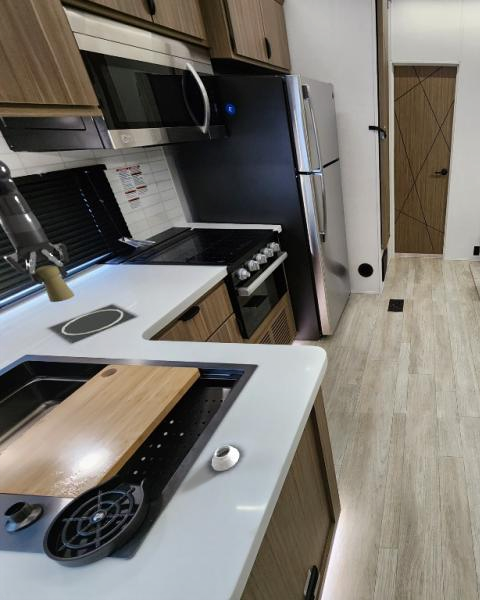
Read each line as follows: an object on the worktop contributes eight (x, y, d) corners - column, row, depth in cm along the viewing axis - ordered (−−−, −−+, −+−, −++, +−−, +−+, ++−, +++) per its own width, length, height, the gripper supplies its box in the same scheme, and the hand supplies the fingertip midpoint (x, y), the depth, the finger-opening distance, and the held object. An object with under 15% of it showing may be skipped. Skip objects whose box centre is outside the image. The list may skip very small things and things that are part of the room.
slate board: (73, 343, 105) (72, 341, 105) (51, 328, 113) (49, 326, 113) (135, 317, 119) (135, 316, 118) (112, 306, 127) (111, 304, 126)
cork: (77, 296, 110) (60, 265, 104) (53, 303, 105) (34, 272, 100) (71, 291, 113) (54, 261, 107) (47, 298, 108) (29, 267, 103)
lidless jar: (217, 477, 65) (243, 460, 68) (213, 467, 64) (239, 451, 67) (209, 460, 68) (234, 446, 71) (205, 451, 67) (230, 436, 70)
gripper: (49, 221, 105) (75, 270, 113) (-16, 233, 94) (17, 286, 102) (59, 224, 102) (85, 274, 110) (-8, 236, 91) (26, 291, 99)
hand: (52, 280), depth 106 cm, fingers closed on cork, 5 cm apart
